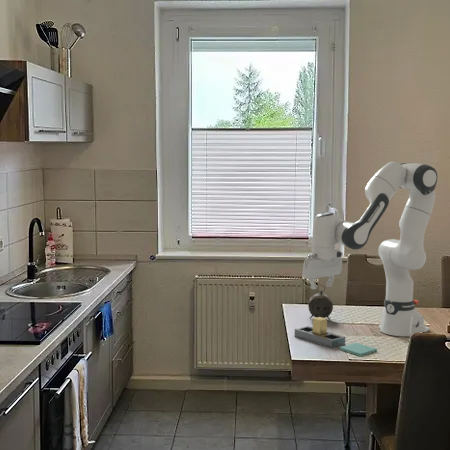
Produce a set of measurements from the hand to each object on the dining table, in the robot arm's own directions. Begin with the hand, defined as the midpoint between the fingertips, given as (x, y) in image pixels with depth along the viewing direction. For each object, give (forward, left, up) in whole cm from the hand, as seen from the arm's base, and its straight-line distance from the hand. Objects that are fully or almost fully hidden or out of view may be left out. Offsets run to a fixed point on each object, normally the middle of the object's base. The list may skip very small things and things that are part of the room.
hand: (321, 287), depth 257 cm
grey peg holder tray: (0, 0, -22) cm, 22 cm away
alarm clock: (-24, -21, -22) cm, 39 cm away
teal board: (-2, +18, -22) cm, 28 cm away
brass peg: (0, 0, -22) cm, 22 cm away
